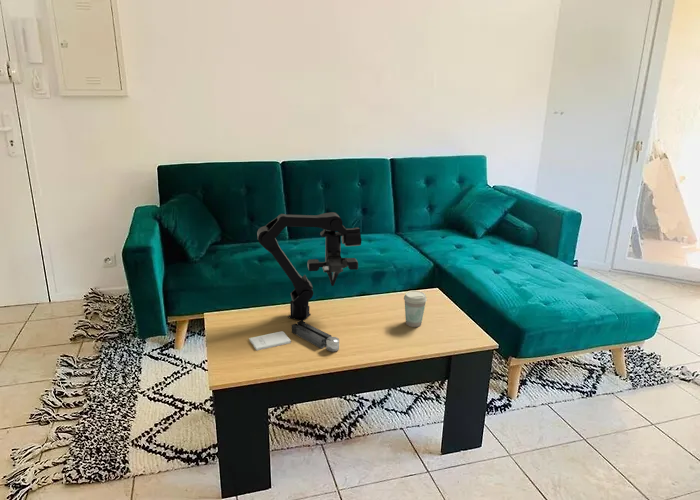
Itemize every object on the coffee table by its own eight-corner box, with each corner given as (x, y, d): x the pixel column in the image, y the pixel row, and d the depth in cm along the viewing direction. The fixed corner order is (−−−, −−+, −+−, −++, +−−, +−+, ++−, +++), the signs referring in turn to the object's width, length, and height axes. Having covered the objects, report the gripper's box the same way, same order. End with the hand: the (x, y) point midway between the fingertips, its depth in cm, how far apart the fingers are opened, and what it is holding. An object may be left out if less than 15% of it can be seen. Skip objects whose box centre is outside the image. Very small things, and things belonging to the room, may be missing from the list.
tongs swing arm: (342, 348, 180) (342, 339, 179) (332, 352, 176) (332, 344, 175) (301, 327, 193) (301, 319, 192) (291, 331, 190) (291, 323, 189)
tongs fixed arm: (325, 346, 181) (325, 338, 180) (321, 348, 180) (321, 340, 179) (295, 330, 192) (295, 322, 191) (291, 332, 191) (291, 324, 190)
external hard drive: (291, 344, 183) (256, 352, 178) (282, 334, 190) (249, 341, 185) (290, 340, 183) (256, 347, 177) (282, 330, 190) (248, 337, 184)
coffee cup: (399, 326, 198) (401, 296, 194) (405, 317, 205) (407, 288, 201) (421, 330, 195) (423, 300, 191) (427, 321, 202) (429, 292, 198)
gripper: (310, 254, 188) (310, 294, 193) (361, 252, 192) (360, 292, 196) (307, 244, 199) (307, 283, 204) (356, 243, 202) (355, 281, 207)
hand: (332, 285), depth 202 cm, fingers closed
